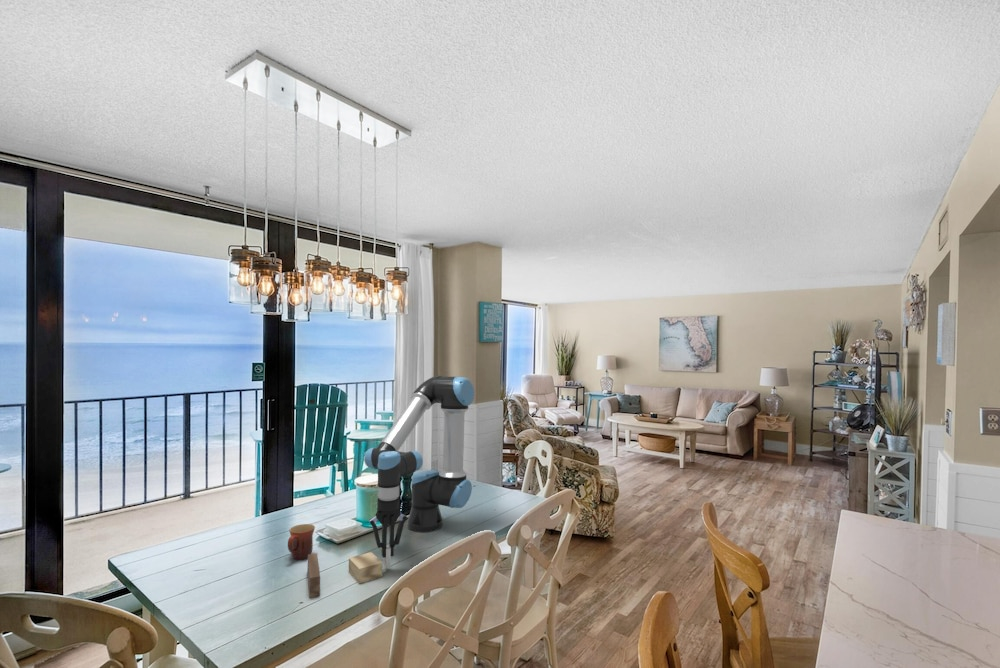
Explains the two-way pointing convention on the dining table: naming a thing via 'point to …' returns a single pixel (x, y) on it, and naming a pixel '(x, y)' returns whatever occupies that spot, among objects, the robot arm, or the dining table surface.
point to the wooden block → (313, 575)
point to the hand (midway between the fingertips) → (387, 565)
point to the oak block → (365, 567)
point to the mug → (301, 541)
